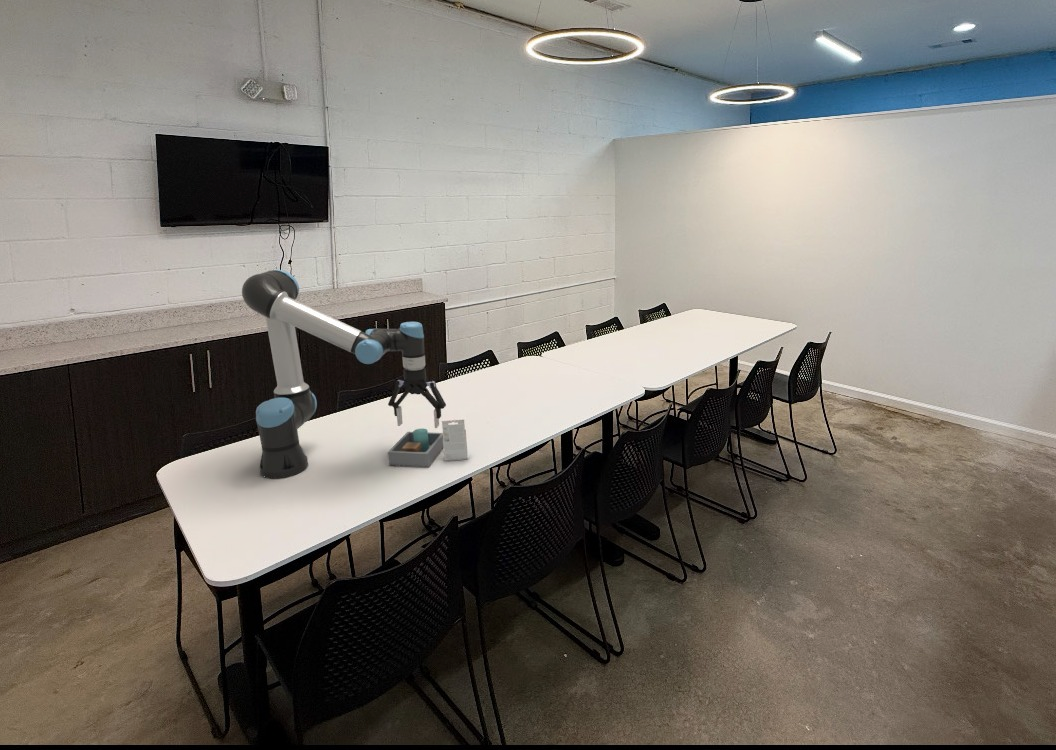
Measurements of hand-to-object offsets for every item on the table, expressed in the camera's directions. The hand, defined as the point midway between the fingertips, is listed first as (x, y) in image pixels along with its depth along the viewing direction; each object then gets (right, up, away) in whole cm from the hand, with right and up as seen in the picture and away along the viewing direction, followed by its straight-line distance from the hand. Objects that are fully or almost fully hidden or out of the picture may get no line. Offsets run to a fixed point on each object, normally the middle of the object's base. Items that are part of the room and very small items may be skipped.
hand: (418, 425), depth 206 cm
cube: (-1, -11, -5) cm, 12 cm away
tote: (0, -10, -1) cm, 10 cm away
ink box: (+14, -11, -4) cm, 18 cm away
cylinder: (+1, -9, +2) cm, 9 cm away
